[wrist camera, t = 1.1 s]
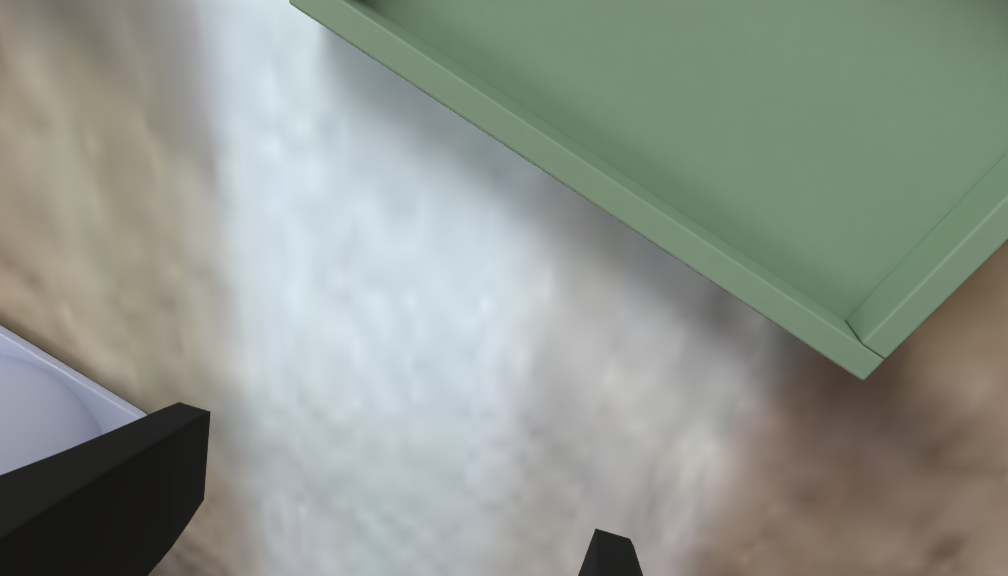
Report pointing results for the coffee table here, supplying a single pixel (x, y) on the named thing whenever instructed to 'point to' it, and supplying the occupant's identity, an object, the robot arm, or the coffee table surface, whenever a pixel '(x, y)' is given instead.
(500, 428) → the coffee table surface
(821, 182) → the tray
